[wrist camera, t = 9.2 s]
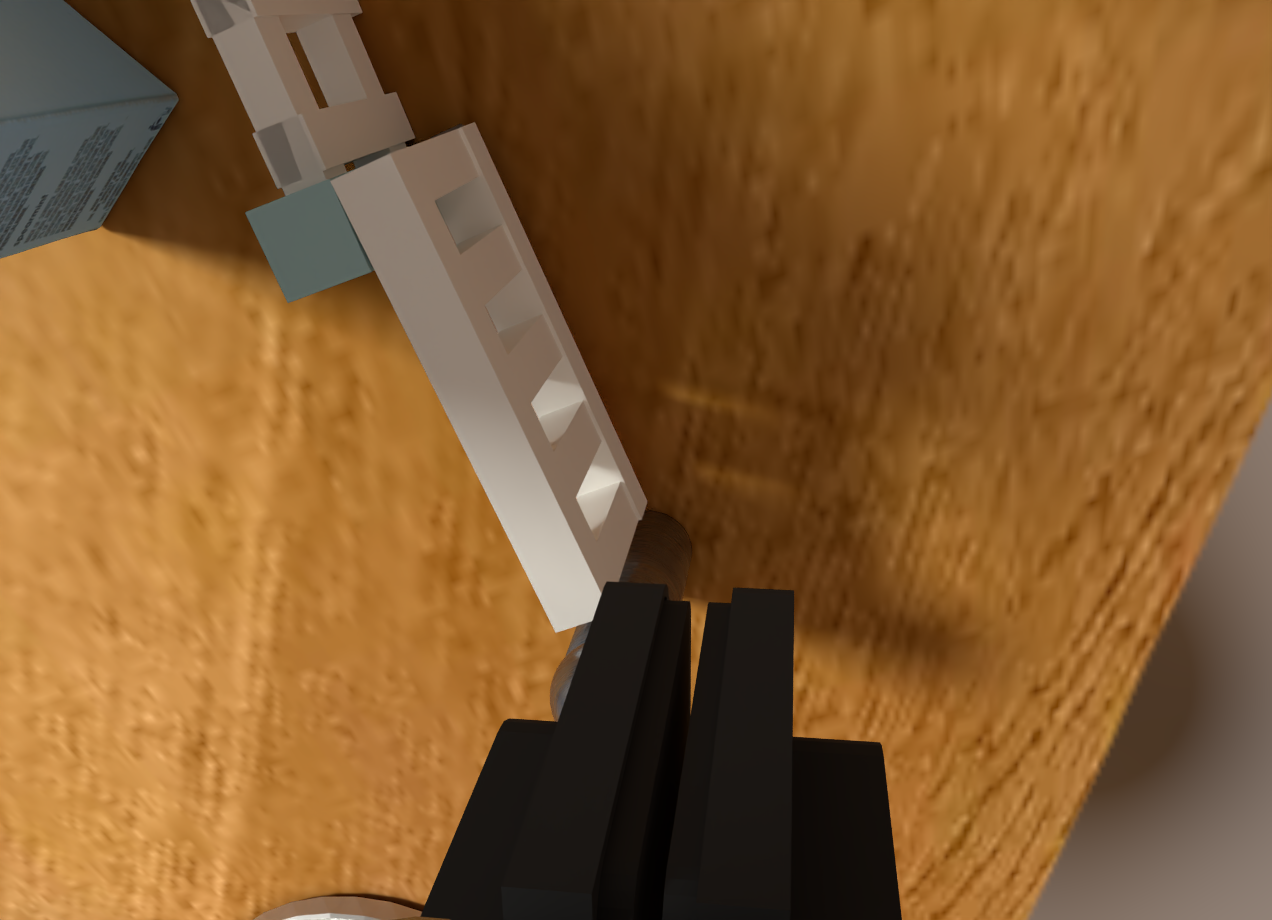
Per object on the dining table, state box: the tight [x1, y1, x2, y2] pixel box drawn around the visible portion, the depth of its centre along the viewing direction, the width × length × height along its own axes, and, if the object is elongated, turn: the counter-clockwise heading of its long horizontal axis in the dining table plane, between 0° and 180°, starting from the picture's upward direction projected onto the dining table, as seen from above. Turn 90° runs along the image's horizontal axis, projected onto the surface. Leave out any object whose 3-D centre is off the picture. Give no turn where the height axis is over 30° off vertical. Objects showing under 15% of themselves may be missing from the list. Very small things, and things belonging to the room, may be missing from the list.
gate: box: [330, 122, 647, 632], centre depth 28 cm, size 11×1×7 cm, turn 23°
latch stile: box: [245, 167, 447, 303], centre depth 27 cm, size 2×2×7 cm
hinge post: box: [550, 511, 692, 722], centre depth 29 cm, size 3×3×9 cm
